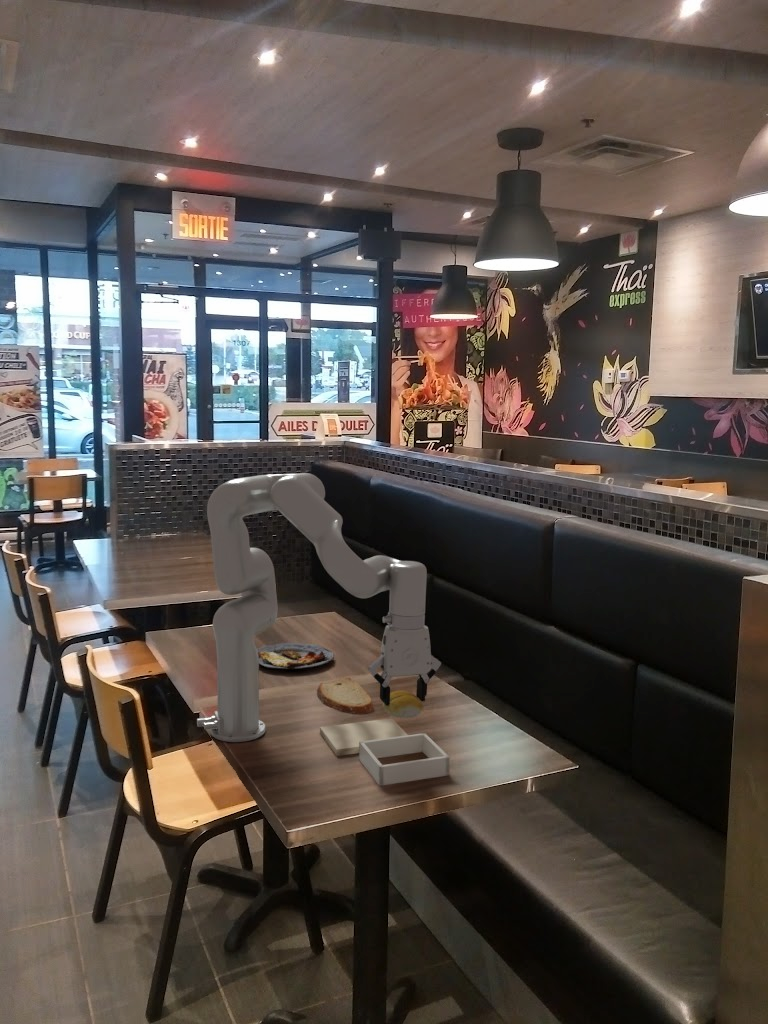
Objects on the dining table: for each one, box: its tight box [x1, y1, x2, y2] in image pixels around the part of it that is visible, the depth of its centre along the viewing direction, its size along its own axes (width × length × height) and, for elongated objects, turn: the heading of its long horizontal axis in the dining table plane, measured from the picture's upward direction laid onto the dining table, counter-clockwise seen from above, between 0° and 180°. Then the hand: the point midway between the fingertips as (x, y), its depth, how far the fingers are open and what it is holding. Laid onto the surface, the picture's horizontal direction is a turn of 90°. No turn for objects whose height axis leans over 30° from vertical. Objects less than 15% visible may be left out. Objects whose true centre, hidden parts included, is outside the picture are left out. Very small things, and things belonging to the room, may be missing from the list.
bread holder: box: [358, 732, 451, 787], centre depth 178 cm, size 16×13×4 cm
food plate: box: [257, 642, 335, 670], centre depth 246 cm, size 25×23×4 cm
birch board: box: [319, 718, 408, 757], centre depth 191 cm, size 18×13×2 cm
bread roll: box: [382, 690, 424, 719], centre depth 176 cm, size 8×9×4 cm
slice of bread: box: [316, 677, 375, 714], centre depth 217 cm, size 18×18×4 cm
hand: (403, 700), depth 176 cm, fingers closed on bread roll, 7 cm apart
